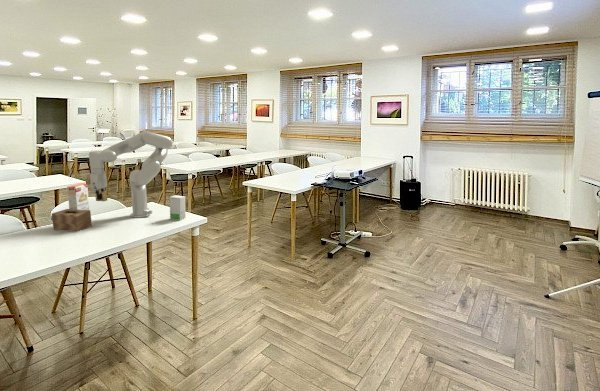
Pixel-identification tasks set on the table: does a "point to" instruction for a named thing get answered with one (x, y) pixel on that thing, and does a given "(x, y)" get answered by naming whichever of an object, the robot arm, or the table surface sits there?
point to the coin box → (71, 220)
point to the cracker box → (78, 196)
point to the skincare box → (177, 207)
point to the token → (104, 196)
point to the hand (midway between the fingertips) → (101, 198)
